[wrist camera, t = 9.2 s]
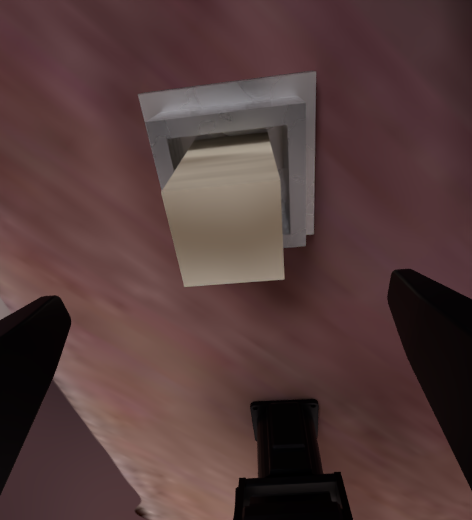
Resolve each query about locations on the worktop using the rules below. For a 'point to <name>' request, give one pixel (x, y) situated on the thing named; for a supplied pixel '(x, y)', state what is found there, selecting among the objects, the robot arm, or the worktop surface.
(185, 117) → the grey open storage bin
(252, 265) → the beige rectangular block
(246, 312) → the worktop surface
